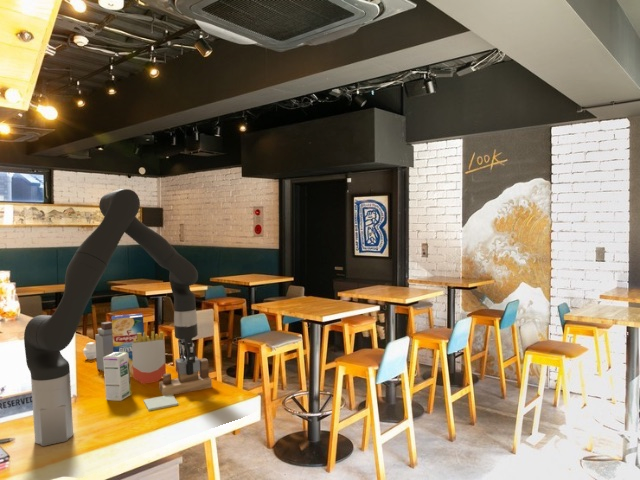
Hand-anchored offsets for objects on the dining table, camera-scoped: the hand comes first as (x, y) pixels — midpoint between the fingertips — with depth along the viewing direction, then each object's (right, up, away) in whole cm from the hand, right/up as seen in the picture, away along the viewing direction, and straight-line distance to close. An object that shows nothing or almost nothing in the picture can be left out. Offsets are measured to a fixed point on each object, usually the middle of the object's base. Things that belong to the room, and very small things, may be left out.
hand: (187, 372), depth 173 cm
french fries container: (-16, -6, +10) cm, 20 cm away
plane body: (-1, -6, 0) cm, 6 cm away
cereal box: (-26, -6, +18) cm, 32 cm away
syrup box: (-21, -7, -7) cm, 23 cm away
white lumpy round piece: (-51, -5, +41) cm, 66 cm away
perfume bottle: (-38, -5, +26) cm, 46 cm away
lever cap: (0, 0, 0) cm, 0 cm away
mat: (-5, -6, -13) cm, 15 cm away
